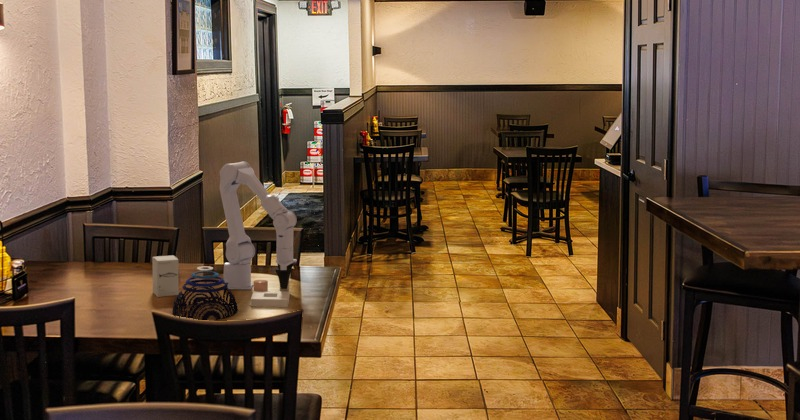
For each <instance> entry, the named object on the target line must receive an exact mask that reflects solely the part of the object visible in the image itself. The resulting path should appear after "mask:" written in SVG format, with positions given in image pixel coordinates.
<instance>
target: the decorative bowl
mask: <svg viewBox="0 0 800 420" xmlns="http://www.w3.org/2000/svg"><path fill="white" fill-rule="evenodd" d="M196 270H198V271H195V272H193V273H191V275H190V276H191V277H189V278H188V279H187V280H186V281H185V282H184V284H183V285H182V286H181V288H182V290H180V292H179V294H178V295H176V297H175V299H174V301H173V306H172V313H171V314H172V315H173V316H174V315H177V316H179V317H180V316H181V317H186V318H187V317H188V318H189V319H190V318H193V319H196V320H197V319H199V320H200V317H201V320H209V318H210V317H213V318H215V319H214V321H218V320H219V321H220V320H225V319H228V318H231V317H234V316H235V315H236V314H237V313H238V312H239V305H238V303H237V300H236V297H235V294H233V293H232V291H231V289H228V288H227V287H228V286H227V284H226V283H225V281H224V280H223V279H224V278H222V277H221V276H220V273H218V272H215V271H213V270H214V267H213V266H210V265H209V266H205V265H203V266H201V265H200V266H198V267H196ZM206 273H207V275H202V276H201V275H197V274H206ZM208 273H209V274H212V275H208ZM224 284H225V285H224ZM220 285H221V286H220ZM222 285H223V286H222ZM187 286H190V287H187ZM216 286H220V287H216ZM215 287H216V288H215ZM183 290H184V292H183ZM221 291H223V293H222V294H221V293H220V292H221ZM206 293H207V294H209V295H207V294H206ZM192 295H193V296H192ZM191 296H192V297H191ZM188 300H189V301H188ZM187 306H189V309H188V307H187ZM213 306H215V307H213ZM223 312H224V313H223Z"/></svg>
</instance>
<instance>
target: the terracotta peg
mask: <svg viewBox="0 0 800 420" xmlns="http://www.w3.org/2000/svg"><path fill="white" fill-rule="evenodd" d="M268 282H269V281H268V280H267V279H256V280H254V281H253V282H252V283H253V285H252V287H253V289H252V291H253V292H254V291H269V286H268V284H269V283H268Z"/></svg>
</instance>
